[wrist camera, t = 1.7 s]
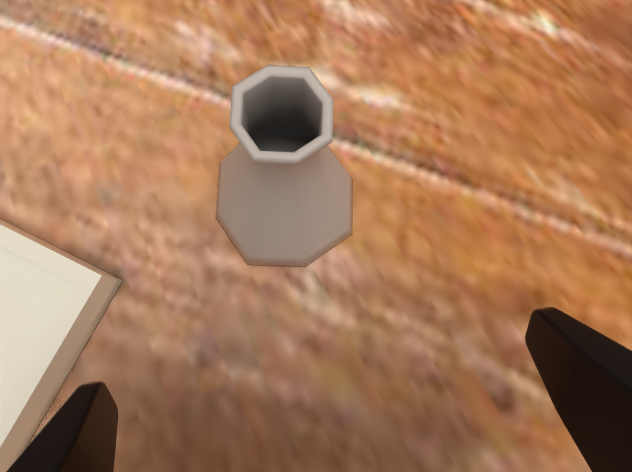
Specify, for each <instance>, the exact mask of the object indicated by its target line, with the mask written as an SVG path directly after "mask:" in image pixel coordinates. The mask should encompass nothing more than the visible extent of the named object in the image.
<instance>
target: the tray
mask: <svg viewBox="0 0 632 472" xmlns="http://www.w3.org/2000/svg"><path fill="white" fill-rule="evenodd" d="M122 281H123V280H121V279H119V278H117V277H115V276H113V275H111V274H109V273H107V272H105V271H103V270H101V269H99V268H97V267H95V266H93V265H91V264H89V263H87V262H85V261H83V260H81V259H79V258H77V257H75V256H73V255H71V254H69V253H67V252H65V251H63V250H61V249H59V248H57V247H55V246H53V245H51V244H49V243H48V242H46V241H44V240H42V239H40V238H38V237H36V236H34V235H32V234H30V233H28V232H26V231H24V230H22V229H20V228H18V227H16V226H14V225H12V224H10V223H8V222H6V221H4V220H2V219H0V472H6V471H7V470H8V469H9V467H10V466H11V465H12V464H13V463H14V462H15V460H16V459H17V458H18V457H19V456H20V455H21V453H22V452H23V451H24V450H25V449H26V447H27V445H28V443H29V442H30V440H31V438H32V436H33V435H34V433H35V431H36V430H37V428H38V426H39V424H40V423H41V421H42V419H43V417H44V416H45V414H46V412H47V411H48V409H49V407H50V405H51V404H52V402H53V400H54V398H55V397H56V395H57V393H58V392H59V390H60V388H61V386H62V385H63V383H64V381H65V380H66V378H67V376H68V374H69V373H70V371H71V369H72V367H73V366H74V364H75V362H76V361H77V359H78V357H79V355H80V354H81V352H82V350H83V348H84V347H85V345H86V343H87V342H88V340H89V338H90V336H91V335H92V333H93V331H94V330H95V328H96V326H97V324H98V323H99V321H100V319H101V317H102V316H103V314H104V312H105V311H106V309H107V307H108V305H109V304H110V302H111V300H112V298H113V297H114V295H115V293H116V292H117V290H118V288H119V286H120V285H121V283H122Z"/></svg>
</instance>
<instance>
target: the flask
mask: <svg viewBox="0 0 632 472" xmlns="http://www.w3.org/2000/svg"><path fill="white" fill-rule="evenodd" d="M230 129H231V131H232V132H233V134H234V135H235V136H236V138H237V139H238V141H239V144H238V145H237V146H236V147H235V148H234V150H233V151H232V152H231V153H230V154H228V155H227V156H226V157H225V158H224V159H223V160H222V161H221V162H220V164H219V179H218V193H217V207H216V219H217V220H218V222H219V223H220V225H221V226H222V228H223V229H224V231H225V232H226V234H227V235H228V236H229V238H230V239H231V241H232V242H233V244H234V245H235V247H236V248H237V250H238V251H239V253H240V254H241V255H242V257H243V258H244V260H245V261H246V263H247V264H248V265H274V266H304V267H306V266H307V265H309V264H310V263H312V262H313V261H315V260H316V259H317V258H319V257H320V256H322V255H323V254H325V253H326V252H327V251H329V250H330V249H332V248H333V247H335V246H336V245H338V244H339V243H340V242H342V241H343V240H345V239H346V238H348V237H349V236H350V235H352V214H353V179H352V178H351V177H350V175H349V174H348V173H347V171H346V170H345V168H344V167H343V166H342V164H341V163H340V162H339V160H338V159H337V158H336V156H335V155H334V154H333V152H332V151H331V150H330V148H329V147H328V145H329V144H330V143H331V142H332V132H333V98H332V97H331V96H330V94H329V93H328V92H327V90H326V89H325V88H324V86H323V85H322V84H321V82H320V81H319V80H318V78H317V77H316V76H315V74H314V73H313V72H312V70H311V69H310V68H309V67H296V66H278V65H267V66H265V67H263V68H262V69H260V70H258V71H257V72H255V73H253V74H252V75H250V76H248V77H247V78H245V79H243V80H242V81H240V82H238V83H237V84H235V85H233V86H232V99H231V114H230Z"/></svg>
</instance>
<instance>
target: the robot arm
mask: <svg viewBox="0 0 632 472" xmlns="http://www.w3.org/2000/svg"><path fill="white" fill-rule="evenodd" d="M525 340H526V345H527V347H528V350H529V352H530V354H531V356H532V358H533V361H534V363H535V365H536V367H537V369H538V372H539V374H540V376H541V378H542V380H543V383H544V385H545V387H546V389H547V391H548V394H549V396H550V398H551V400H552V402H553V404H554V406H555V408H556V410H557V412H558V414H559V416H560V418H561V419H562V421H563V423H564V425H565V426H566V428H567V430H568V431H569V433H570V435H571V437H572V438H573V440H574V442H575V443H576V445H577V447H578V449H579V450H580V452H581V454H582V455H583V457H584V459H585V460H586V462H587V464H588V466H589V467H590V469H591V471H592V472H632V351H631V350H629V349H627V348H626V347H624V346H622V345H620V344H619V343H617V342H615V341H613V340H612V339H610V338H608V337H606V336H604V335H603V334H601V333H599V332H597V331H596V330H594V329H592V328H590V327H589V326H587V325H585V324H583V323H581V322H580V321H578V320H576V319H574V318H573V317H571V316H569V315H567V314H566V313H564V312H562V311H560V310H558V309H556V308H554V307H546V308H540V309H536V310H534V311H533V312H532V314H531V317H530V321H529V324H528V328H527V331H526V335H525ZM117 424H118V409H117V405H116V403H115V401H114V399H113V398H112V396H111V394H110V392H109V390H108V388H107V387H106V385H105V383H103V382H101V381H98V382H92V383H86V384H82V385H80V386H79V387H78V388H77V389H76V390H75V391H74V392H73V393H72V395H71V396H70V397H69V398H68V399H67V400H66V402H65V403H64V404H63V405H62V406H61V408H60V409H59V410H58V411H57V412H56V413H55V415H54V416H53V417H52V418H51V419H50V420H49V422H48V423H47V424H46V425H45V426H44V428H43V429H42V430H41V431H40V432H39V433H38V435H37V436H36V437H35V438H34V439H33V440H32V442H31V443H30V444H29V445H28V446H27V447H26V449H25V450H24V451H23V452H22V453H21V455H20V456H19V457H18V458H17V459H16V460H15V462H14V463H13V464H12V465H11V466H10V467H9V469H8V470H7V471H6V472H113V471H114V459H115V447H116V435H117Z"/></svg>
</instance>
